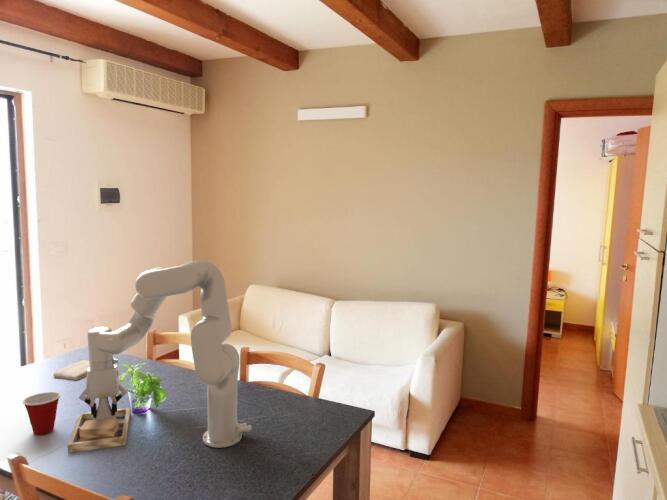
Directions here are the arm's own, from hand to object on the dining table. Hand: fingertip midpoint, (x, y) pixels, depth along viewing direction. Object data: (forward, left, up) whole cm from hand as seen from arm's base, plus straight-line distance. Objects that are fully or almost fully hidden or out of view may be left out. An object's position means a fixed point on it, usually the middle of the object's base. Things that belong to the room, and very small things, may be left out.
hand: (104, 414), depth 169 cm
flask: (0, 0, -3) cm, 3 cm away
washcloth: (+15, -54, -5) cm, 57 cm away
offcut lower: (0, +11, -4) cm, 11 cm away
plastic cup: (+19, -1, -4) cm, 19 cm away
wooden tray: (0, +5, -4) cm, 6 cm away
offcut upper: (0, +11, -1) cm, 11 cm away
